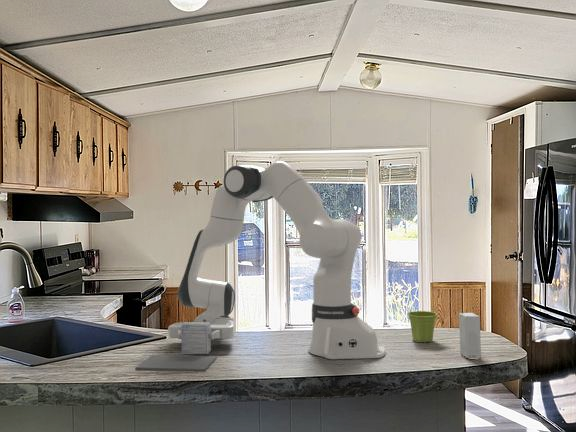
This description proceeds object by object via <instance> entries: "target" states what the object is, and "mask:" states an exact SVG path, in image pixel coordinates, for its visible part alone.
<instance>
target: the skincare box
mask: <svg viewBox="0 0 576 432" xmlns="http://www.w3.org/2000/svg"><path fill="white" fill-rule="evenodd" d="M458 325H459V327H458V328H459V330H458V331H459V346H460V347H459V350H460V351H459V352H460V353H461V354H462V355H463V356H462V355H461V354H460V355H461V356H462V357H464V356H465V357H466V358H481V359H482V343H481V316H479V315H477V314H475V313H474V312H459V313H458ZM465 357H464V358H465ZM466 358H465V359H466Z"/></svg>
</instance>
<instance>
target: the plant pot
mask: <svg viewBox="0 0 576 432" xmlns="http://www.w3.org/2000/svg"><path fill="white" fill-rule="evenodd" d="M406 315H407V316H408V319H409V324H410V329H411V337H412V341H415V342H416V343H422V342H424V343H427V342H428V343H431V342H433V338H434V332H435V331H434V330H435V323H436V320H437V316H439V315H438V313H437V312H435V311H434V312H433V311H426V310H418V311H417V310H415V311H409V312H407V314H406Z"/></svg>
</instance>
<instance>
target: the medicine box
mask: <svg viewBox="0 0 576 432" xmlns="http://www.w3.org/2000/svg"><path fill="white" fill-rule="evenodd" d="M184 322H185V323H184V324H183V325H181V339H180V340H181V341H180V342H181V355H208V354H210V352H211V351H212V341H211V339H209V333H210V332H211V327H210V322H194V321H189V322H188V321H184Z"/></svg>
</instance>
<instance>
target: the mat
mask: <svg viewBox="0 0 576 432" xmlns="http://www.w3.org/2000/svg"><path fill="white" fill-rule="evenodd" d="M217 359H218V358H217V356H216V355H214V356H211V355H175V354H174V355H172V354H167V355H166V354H151V355H149V357H147V358H146V359H145V360H143V361H142V362H141V363H139V364H138V365H136V366H135V367H134V368H135V371H169V372H171V371H173V372H174V371H175V372H206V371H207V370H208V369H209V368H210V367H211V366H212V365H213V363H214V362H215V361H216V360H217Z"/></svg>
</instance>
